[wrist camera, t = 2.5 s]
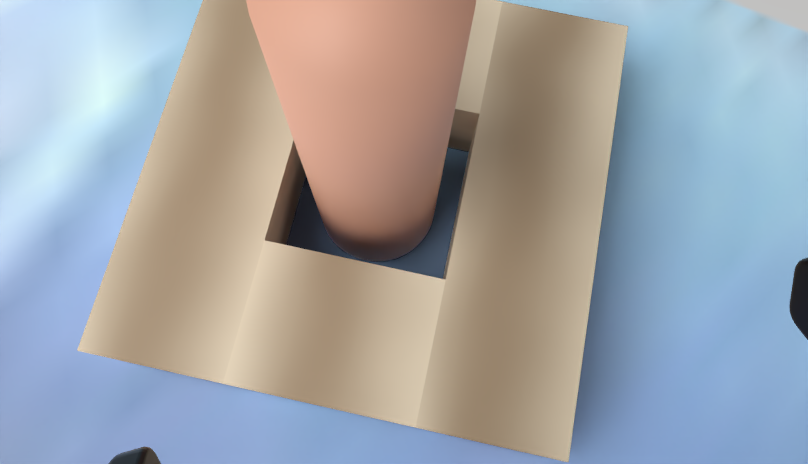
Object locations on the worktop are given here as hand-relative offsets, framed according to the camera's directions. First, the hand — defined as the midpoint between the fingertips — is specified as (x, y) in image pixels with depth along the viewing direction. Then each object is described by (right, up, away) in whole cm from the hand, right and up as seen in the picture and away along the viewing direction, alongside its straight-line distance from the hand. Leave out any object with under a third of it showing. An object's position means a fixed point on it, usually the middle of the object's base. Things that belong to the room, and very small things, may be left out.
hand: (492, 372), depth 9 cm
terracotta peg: (-2, +3, +14) cm, 14 cm away
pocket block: (-2, +3, +14) cm, 14 cm away
